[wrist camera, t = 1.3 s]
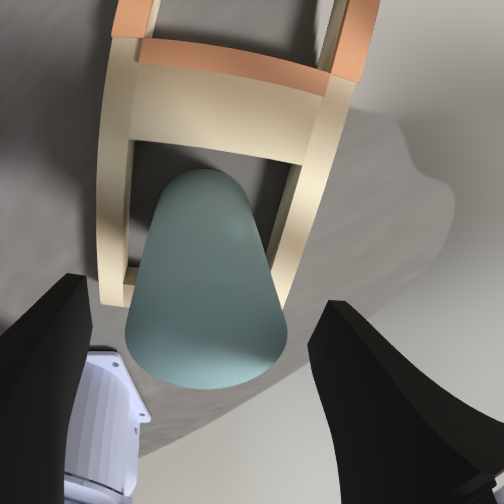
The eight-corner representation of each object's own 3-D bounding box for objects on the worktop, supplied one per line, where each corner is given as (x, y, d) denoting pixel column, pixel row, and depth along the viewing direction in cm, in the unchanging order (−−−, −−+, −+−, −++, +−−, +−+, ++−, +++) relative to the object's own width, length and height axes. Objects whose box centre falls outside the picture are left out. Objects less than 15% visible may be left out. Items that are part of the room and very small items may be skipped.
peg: (250, 249, 16) (282, 381, 10) (163, 256, 16) (146, 391, 9) (249, 165, 14) (293, 272, 7) (150, 173, 14) (104, 286, 7)
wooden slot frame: (273, 302, 19) (279, 324, 17) (106, 285, 16) (99, 307, 15) (376, -65, 8) (395, -75, 7) (172, -114, 6) (169, -131, 4)
